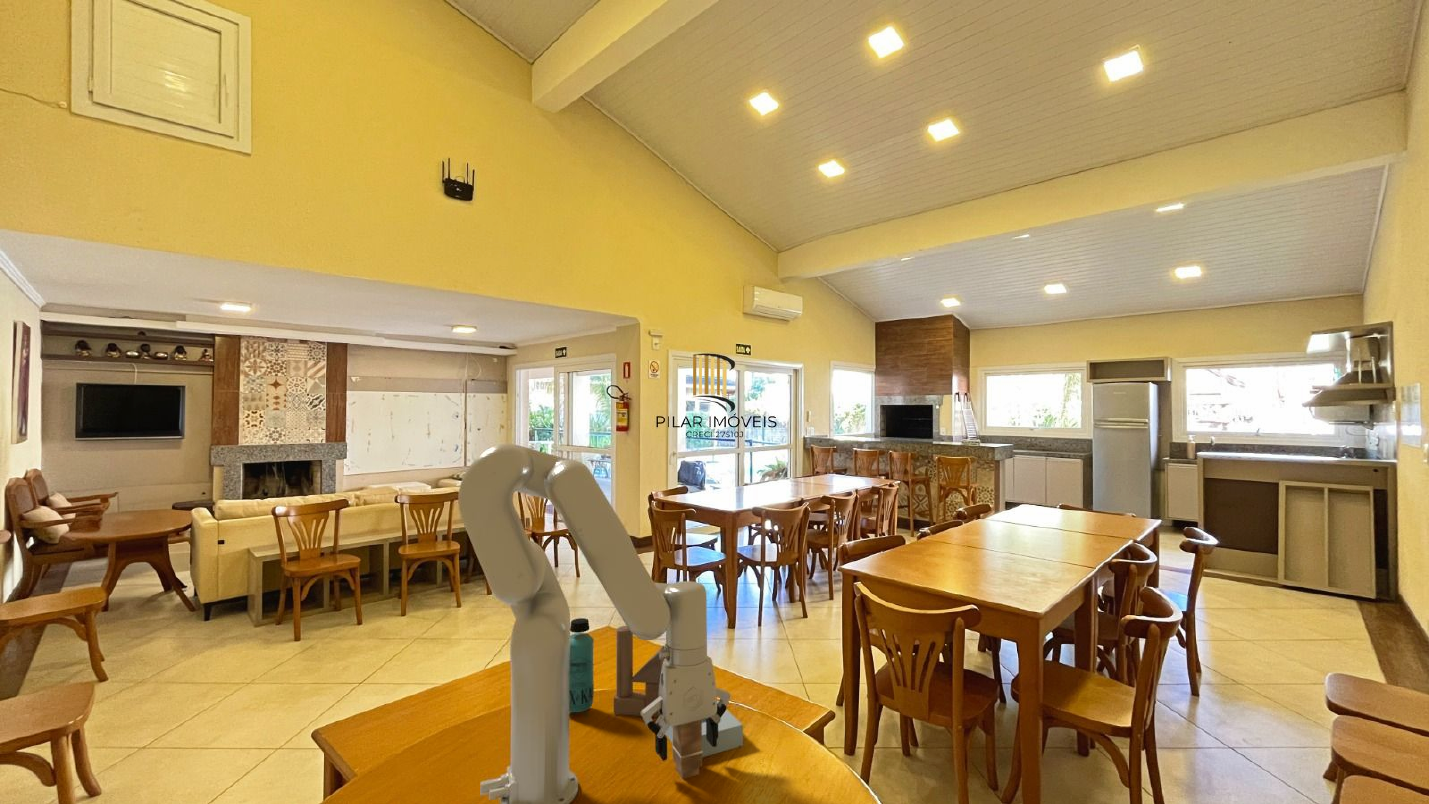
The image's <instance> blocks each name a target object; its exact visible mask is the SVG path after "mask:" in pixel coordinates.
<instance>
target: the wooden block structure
mask: <svg viewBox="0 0 1429 804" xmlns="http://www.w3.org/2000/svg"><path fill="white" fill-rule="evenodd" d="M633 640H634V634H632V633H631V631H630V630H629V628H628V627H627V625H623V626H619V627H617V629H616V684H615V685H616V689H615V690H616V693H615V696H614V698H613V714H614V715H623V716H636V717H642V716H641V714H640V713H641V711H642V710H643V709H644V708H646V707H647V706H648V705H649V704H651V703H652V702H653V701H655V700H656V699H657V698H658V696H659V683H660V675H661V669H662V665H663V661H664V660H666V659H664V658H663V659H660V658H659V651H663V650H664V649H665V644H664V645H662V647H661V648H659V649H658V650H657V651H656V652H655V653H654V654H653V655H652V656H651V657H650V658H649V659H648V660H647V661H646V663H644V664H643V665H642V667H640V668H639V669H638V671H636V673H634V669H633V668H634V644H633V643H634V642H633ZM634 683H644V685H645V687H644V688H645V694H644V693H643V692H641V691H640V692H638V691H634ZM659 716H660V715H659V711H656V712H655V713H654V714H653V715H652V716H651V718H657V719H658V718H659Z"/></svg>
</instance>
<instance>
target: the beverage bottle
mask: <svg viewBox="0 0 1429 804" xmlns="http://www.w3.org/2000/svg"><path fill="white" fill-rule="evenodd" d="M589 630H590V622H589V619H588V618H585V617H584V618H583V617H581V618H575V619H572V620H570V633H573V634H570V659H569V713H580V712H585V711H587V710H589V709H590V708H591V707H592V706H593V703H594V699H595V698H594V697H595V696H594V694H595V692H594V691H595V690H594V685H595V681H594V673H595V671H594V666H595V664H594V640H595V639H594V637H592V635H590V634H589V633H587V632H588V631H589Z"/></svg>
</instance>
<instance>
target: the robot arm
mask: <svg viewBox="0 0 1429 804" xmlns="http://www.w3.org/2000/svg"><path fill="white" fill-rule="evenodd" d="M458 490H459V491H458V496H457V497H458V498H457V500H458V509H459V515H460V517H461V520H462V522H463V523H462V524H463V526H464V527H465V530H466V533H467V535H468V537H469V540H470V543H471V544H472V548H473V550H474V553H475V555H476V558H477V560H478V562H479V564H480V566H481V569H482V571H483V573H484V576H485V578H486V580H487V584H488V587H489V588H490V591H491V593H492V594H493V596H495V598H496V599H497V600H498V601H500V602H501V603H503V604H505V605H509V608H510V609H511V611H512V614H513V617H514V619H515V620H514V624H513V627H512V631H511V634H510V635H511V636H510V643H509V655H510V656H509V659H510V661H509V662H510V707H511V708H510V710H511V711H510V716H511V717H510V765H508V766H506V773H503V774H500V777H497V778H491V779H490V778H489V779H488V780H487V779H486V780H482V781H480V791H479V792H480V796H484V795H488V799H489V801H493V800H496V799H498V798H499V804H500V803H501V804H570V803H572V801H574V799H575V798H576V796H577V794H578V792H579V791H578V790H579V781H578V777H577V776H576V775H575V773H574V772H573V771H571V770H570V712H569V659H570V636H571V631H570V627H571V611H570V607H569V604H568V603H569V602H568V601H567V598H566V596H565V594H564V591H563V590H562V588H561V585H560V583H559V580H558V579H557V576H556V574H555V571H554V568H553V566H552V564H551V562H550V560H549V558H548V556H547V554H546V552H545V550H544V549H543V548H542V547H541V546H540V544H538V543H537V542H535V541H534V540H530V539H529V537H528V534H527V532H526V530H525V528H524V525H523V521H522V519H521V517H520V515H519V513H518V511H517V510H516V508H515V505H514V495H515V492H517V493H520V494H525V495H528V496H532V497H537V498H540V499H545V500H549V502H550V504H551V505H552V506H553V508H554V509H555V510H554V511H556V513H557V514H558V516H559V518H560V519H561V521H562V523H564V526H565V527H566V529H567V530H568V532H569V533H570V535H571V536H572V538H573V541H574V542H575V543H576V545H577V547H578V548H579V550H580V552H581V554H582V555H583V557H584V558H585V561H586V562H587V564H588V566H589V568H590V569H591V570H592V572H593V573H594V574H595V576H596V577H597V579H598V580H599V582H600V584H601V585H602V587H603V589H604V591H605V592H606V594H607V596H608V598H609V599H610V601H611V603H612V605H613V606H614V608H615V609H616V611H617V612H618V614H619V616H620V617H621V619H622V621H623V622H624V624H625V626H627V627H628V628H629V630H630V631H631V633H632V634H633V636H634V637H636V638H638V639H640V640H642V641H653V640H656V639H658V638H660V637H661V636H662V635H665V643H664V646H665V649H664V650H663V651H659V658H660V659H663V658H664V659H665V660H664V661H663V665H662V669H661V675H660V683H659V696H658V698H657V699H656V700H655V701H653V702H652V703H651V704H649V705H648V706H647V707H646V708H644V709H643V710H642V711H641V713H640V714H641V716H640V717H641V718H642V719H643V721H644V723H645V725H646V727H647V728H648V729H649V730H650V731H651V733H653V734H655V735H654V736H655V737H654V738H655V739H654V744H655V745H654V748H655V749H654V750H655V753H656V754H657V755H658V756H659V757H660V759H661V761H662V762H664V761H667V760H668V737H667V735H666V734H665V733H666V731H667V730H668V728H669V727H670V726H672V727H674V726H679V725H684V724H688V723H692V722H696V721H700V720H704V719H706V739H707V741H708V742H709V743H710V744H711V745H712V747H716V746H717V739H718V723H720V721H721V717H722V715H723V714H724V712H725V711H726V709H727V708H728V704H729V702H730V699H731V698H732V696H731V693H730V692H729V691H728V690H726V689H723V688H719V687H717V684H716V683H717V682H716V676H715V670H714V664H713V659H712V658H711V657H710V656H708V627H707V626H708V624H707V623H708V622H707V621H708V620H707V619H708V617H707V616H708V615H707V613H708V612H707V611H708V610H707V609H708V608H707V605H708V604H707V601H708V600H707V590H706V588H705V586H704V584H702V583H700V582H697V581H690V580H688V581H685V580H684V581H677V582H674V583H666V582H665V583H664V582H663V583H661V582H655V581H654V580H653V579H652V577H651V575H650V573H649V572H648V570H647V568H646V567H645V565H644V563H643V562H642V559H641V558H640V556H639V554H638V552H637V549H636V548H635V546H634V543H633V542H632V541H633V540H632V539H631V537H630V534H629V532H628V531H627V529H626V528H625V526H624V524H623V522H622V521H621V519H620V518H619V516H618V514H617V513H616V511H615V510H614V507H613V506H612V505H611V503H610V501H609V500H608V498H607V497H606V494H605V493H604V492H603V490H602V489H601V487H600V485H599V484H598V482H597V480H596V478H595V477H594V475H593V474H592V472H591V469H589V467H588V466H587V465H586V464H584V463H583V462H581V461H578V460H575V459H570V458H567V457H562V456H557V455H554V454H550V453H548V452H547V453H546V452H543V451H541V450H540V451H539V450H535V449H532V448H529V447H525V446H522V445H519V444H513V443H509V444H508V443H502V444H498V445H494V446H492V447H490V448H487V449H486V450H484V451H483V452H482V453H481V454H480V455H478V456H477V457H476V458H475V459H474V461H473V462H472V463H471V464H470V465H469V466H468V467H467V470H466V471H465V474H464V475H463V477H462V479H461V482H460V485H459V489H458ZM718 698H719V703H718V704H717V700H718ZM727 710H728V709H727ZM656 711H659V715H660V716H659V718H658V717H657V719H656V721H654V720H653V719H652V718H653V717H651V716H652V715H653V714H654V713H655V712H656Z"/></svg>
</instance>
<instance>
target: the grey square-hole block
mask: <svg viewBox="0 0 1429 804" xmlns="http://www.w3.org/2000/svg"><path fill="white" fill-rule="evenodd" d="M719 702H720V700H718V699H717V704H718V703H719ZM743 726H744V724H743V723H741V721H739V719H737V718H736V716H735V715H733V714H732V713H731V712H730V711H729V710H728V709H726V711H725V712H724V714H723V715H722V717H721V721H720V723H718V739H717V746H716V747H712V745H711V744H710V743H709V742H708V741H707V739H706V719H704V720H702V751H703V753H702V758H705V757H708V756H712V755H715V754H718V753H720V754H721V753H722V752H727V751H729V750H730V751H731V750H734V749H736V748H740V747H739V746H741V747H743V746H744V740H743V739H744V733H743V732H744V729H743V728H744V727H743ZM665 735H666V737H667V739H669V741H670V742H671V743H672V744H673V727H672V726H670V727H669V728H668V730H667V731H666V733H665Z"/></svg>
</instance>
